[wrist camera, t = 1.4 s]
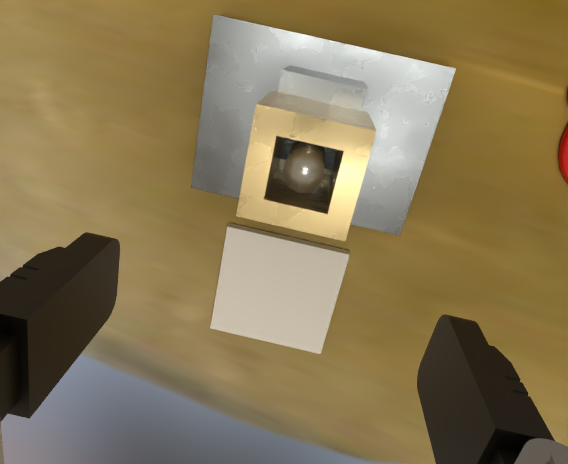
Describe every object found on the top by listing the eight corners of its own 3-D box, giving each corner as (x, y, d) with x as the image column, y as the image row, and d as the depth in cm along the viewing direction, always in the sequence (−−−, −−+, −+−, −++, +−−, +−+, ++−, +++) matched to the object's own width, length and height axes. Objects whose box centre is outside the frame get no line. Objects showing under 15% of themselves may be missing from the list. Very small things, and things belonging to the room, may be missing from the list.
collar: (368, 111, 26) (376, 131, 21) (343, 202, 28) (345, 241, 23) (272, 90, 26) (255, 103, 21) (255, 182, 29) (236, 216, 23)
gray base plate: (448, 66, 31) (514, 82, 20) (396, 225, 36) (424, 312, 25) (220, 15, 32) (154, 2, 20) (198, 180, 36) (135, 245, 25)
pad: (349, 250, 37) (349, 254, 37) (320, 348, 41) (320, 354, 41) (229, 222, 37) (227, 226, 37) (212, 323, 41) (210, 328, 41)
